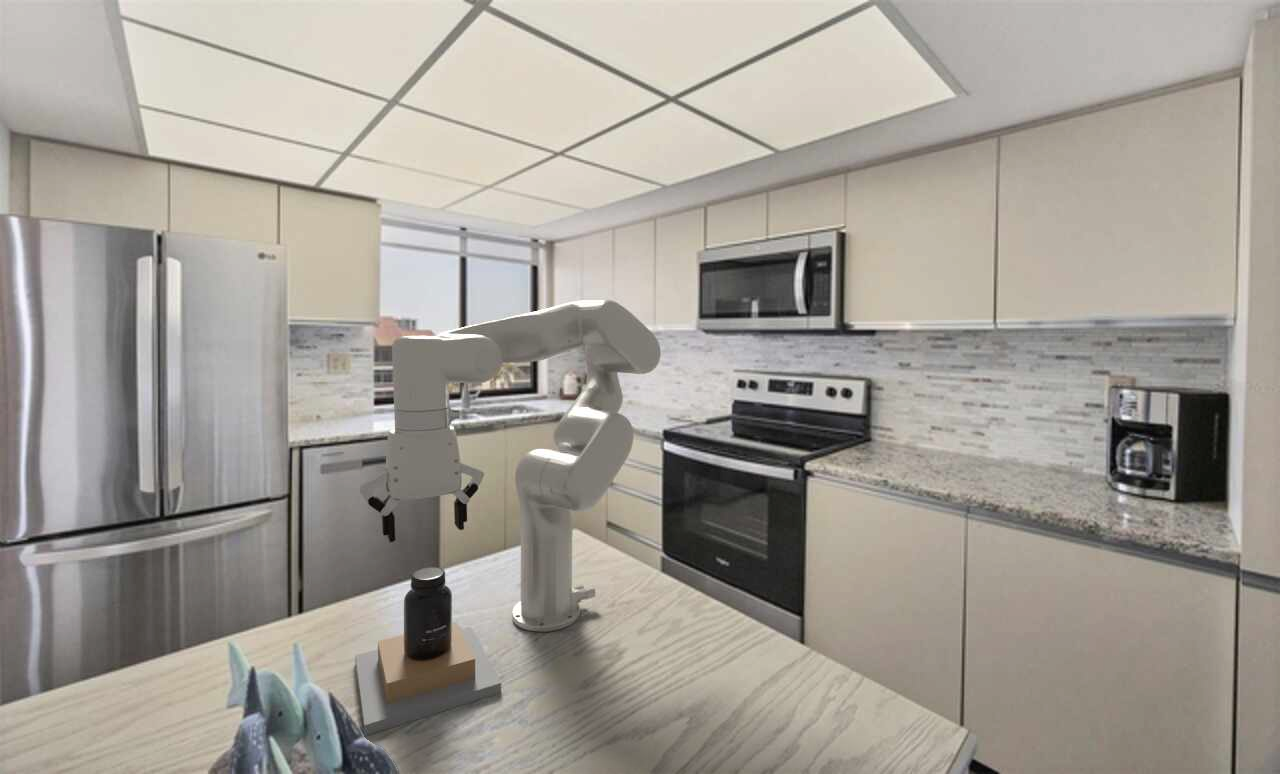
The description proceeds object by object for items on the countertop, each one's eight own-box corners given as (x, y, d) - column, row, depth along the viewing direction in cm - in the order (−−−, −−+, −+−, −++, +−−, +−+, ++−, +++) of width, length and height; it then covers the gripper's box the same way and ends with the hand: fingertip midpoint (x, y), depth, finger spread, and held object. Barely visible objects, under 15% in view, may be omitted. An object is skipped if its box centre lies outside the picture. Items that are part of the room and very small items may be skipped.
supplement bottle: (435, 665, 79) (434, 585, 78) (394, 658, 81) (392, 580, 79) (460, 639, 86) (460, 566, 85) (422, 634, 87) (420, 561, 86)
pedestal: (470, 634, 96) (470, 609, 95) (501, 692, 80) (501, 663, 80) (355, 664, 86) (354, 636, 86) (364, 736, 71) (364, 703, 71)
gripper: (475, 412, 88) (478, 516, 89) (354, 421, 79) (359, 535, 80) (488, 419, 81) (490, 530, 83) (358, 429, 72) (363, 553, 74)
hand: (426, 532), depth 82 cm, fingers open, 9 cm apart
